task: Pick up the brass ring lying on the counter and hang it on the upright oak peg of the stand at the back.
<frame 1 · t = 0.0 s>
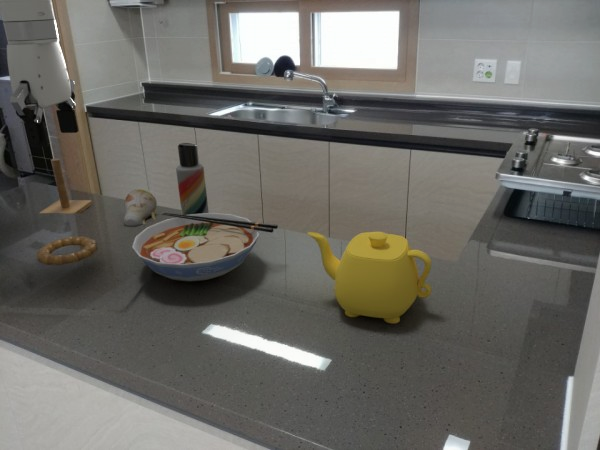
hand: (55, 139, 92), 26 cm above the worktop, tool pointing down, fingers open, 9 cm apart
white round figurine: (141, 223, 124), on the worktop
ring: (67, 251, 108), point 1 cm above the worktop
ramen bowl: (201, 272, 101), on the worktop
peg stand: (66, 210, 133), on the worktop
teapot: (367, 305, 88), on the worktop
lotion bottle: (197, 233, 118), on the worktop
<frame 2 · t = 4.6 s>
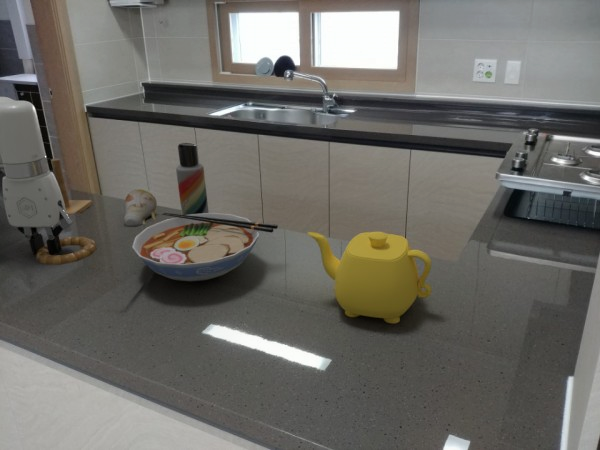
hand: (48, 254, 109), 1 cm above the worktop, tool pointing down, fingers closed on ring, 2 cm apart
ring: (66, 251, 108), point 1 cm above the worktop, touching gripper
everything else where it was.
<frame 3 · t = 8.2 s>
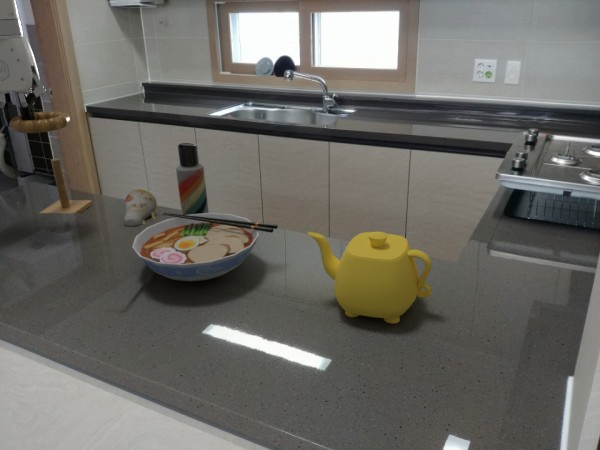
hand: (22, 124, 109), 25 cm above the worktop, tool pointing down, fingers closed on ring, 2 cm apart
ring: (40, 121, 109), point 25 cm above the worktop, touching gripper
everything else where it was.
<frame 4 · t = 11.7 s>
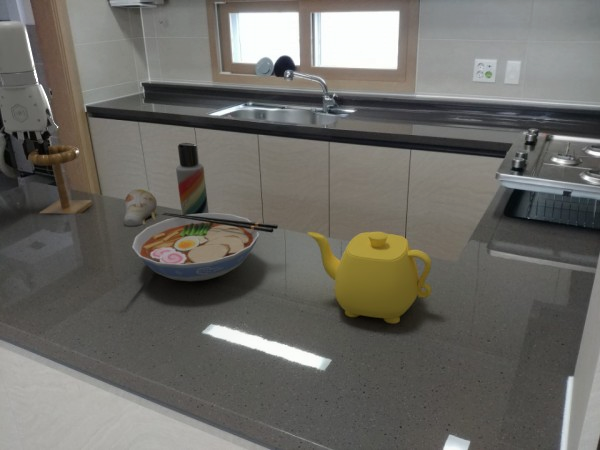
hand: (38, 157, 128), 14 cm above the worktop, tool pointing down, fingers closed on ring, 2 cm apart
ring: (54, 154, 127), point 14 cm above the worktop, touching gripper
everything else where it was.
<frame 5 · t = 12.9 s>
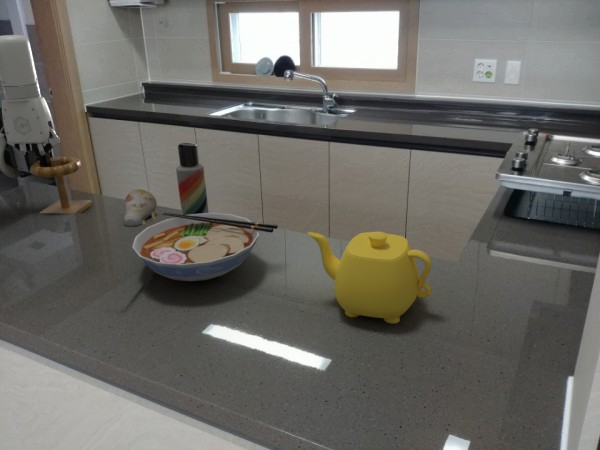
hand: (40, 169, 129), 11 cm above the worktop, tool pointing down, fingers closed on ring, 2 cm apart
ring: (56, 166, 129), point 11 cm above the worktop, touching gripper
everything else where it was.
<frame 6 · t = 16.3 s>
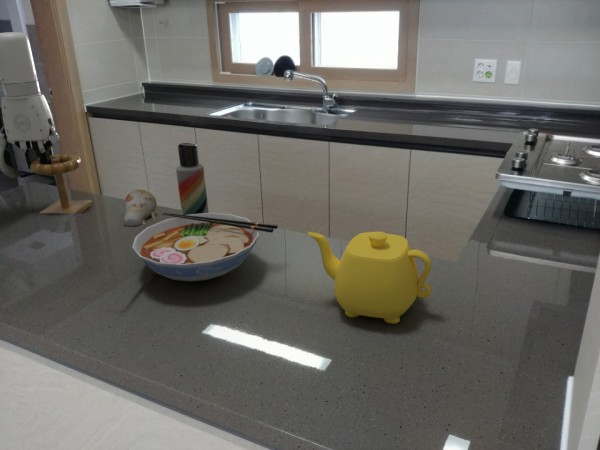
hand: (40, 166, 129), 11 cm above the worktop, tool pointing down, fingers closed on ring, 2 cm apart
ring: (56, 164, 128), point 12 cm above the worktop, touching gripper
everything else where it was.
when the fingers open (13 cm above the worktop, at t = 19.2 s): ring drops 11 cm, resting on peg stand.
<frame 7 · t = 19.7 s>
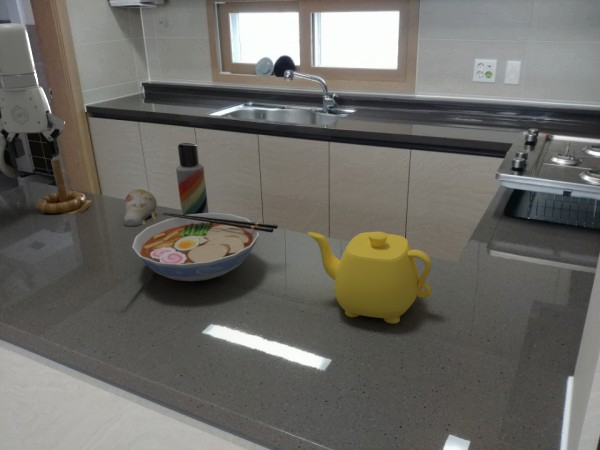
hand: (37, 156, 128), 14 cm above the worktop, tool pointing down, fingers open, 8 cm apart
ring: (61, 201, 132), point 2 cm above the worktop, touching peg stand
everything else where it was.
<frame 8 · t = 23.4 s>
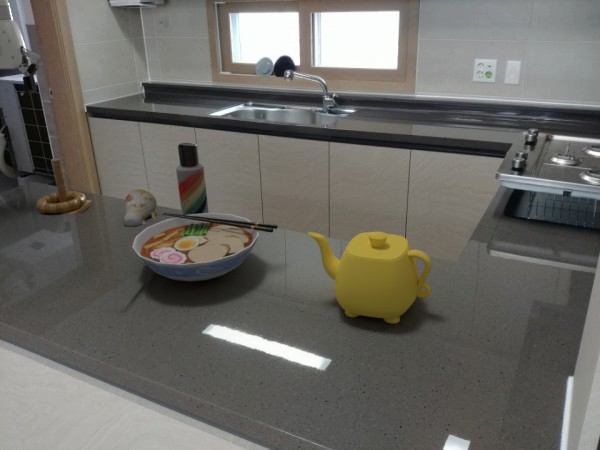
hand: (12, 93, 126), 28 cm above the worktop, tool pointing down, fingers open, 9 cm apart
nothing on the worktop moved.
at the end: ring 0.8 cm off-centre on the peg stand, point 2.4 cm above the peg stand's base; the gripper is holding nothing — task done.
